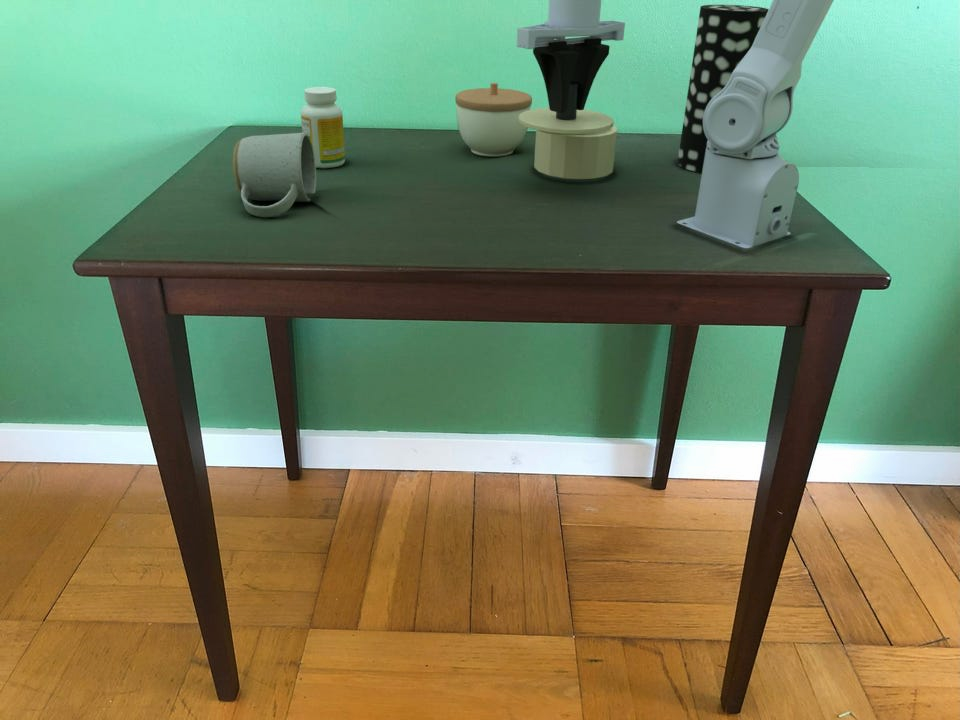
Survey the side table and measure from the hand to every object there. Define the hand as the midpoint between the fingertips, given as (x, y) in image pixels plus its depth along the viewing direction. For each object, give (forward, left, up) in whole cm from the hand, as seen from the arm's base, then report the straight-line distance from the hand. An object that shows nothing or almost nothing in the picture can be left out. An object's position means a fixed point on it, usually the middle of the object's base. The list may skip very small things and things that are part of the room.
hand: (566, 110), depth 90 cm
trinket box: (+20, -5, -10) cm, 23 cm away
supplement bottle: (+27, +18, -10) cm, 34 cm away
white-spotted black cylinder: (-2, -26, -10) cm, 27 cm away
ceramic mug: (+15, +30, -10) cm, 35 cm away
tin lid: (0, 0, -1) cm, 1 cm away
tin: (+6, -8, -10) cm, 14 cm away
